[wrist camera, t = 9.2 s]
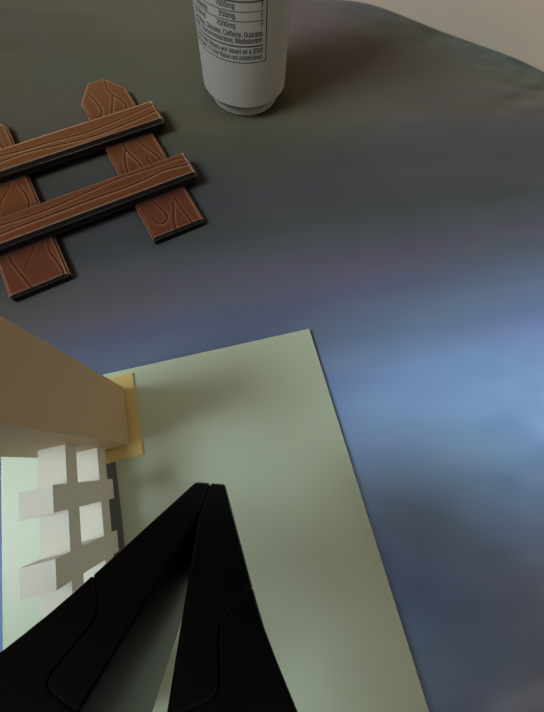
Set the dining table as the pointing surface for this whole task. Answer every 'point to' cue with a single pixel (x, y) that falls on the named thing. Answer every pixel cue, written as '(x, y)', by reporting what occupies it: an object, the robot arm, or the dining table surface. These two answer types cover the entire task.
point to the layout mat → (252, 515)
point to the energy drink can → (243, 51)
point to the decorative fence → (132, 187)
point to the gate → (60, 459)
